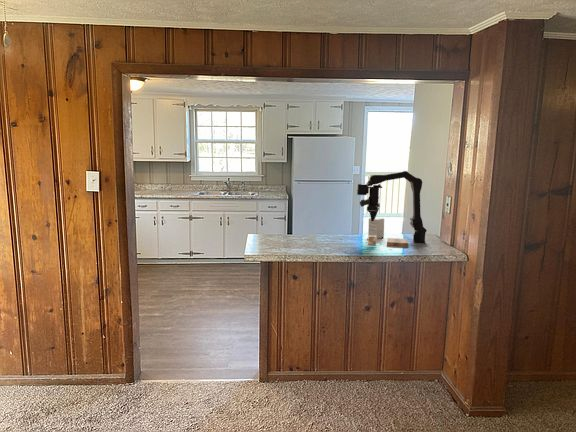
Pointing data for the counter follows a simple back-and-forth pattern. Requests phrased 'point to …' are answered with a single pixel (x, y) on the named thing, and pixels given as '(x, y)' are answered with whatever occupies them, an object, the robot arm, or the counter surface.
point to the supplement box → (376, 227)
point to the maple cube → (371, 239)
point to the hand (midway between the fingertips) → (373, 220)
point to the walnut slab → (397, 242)
